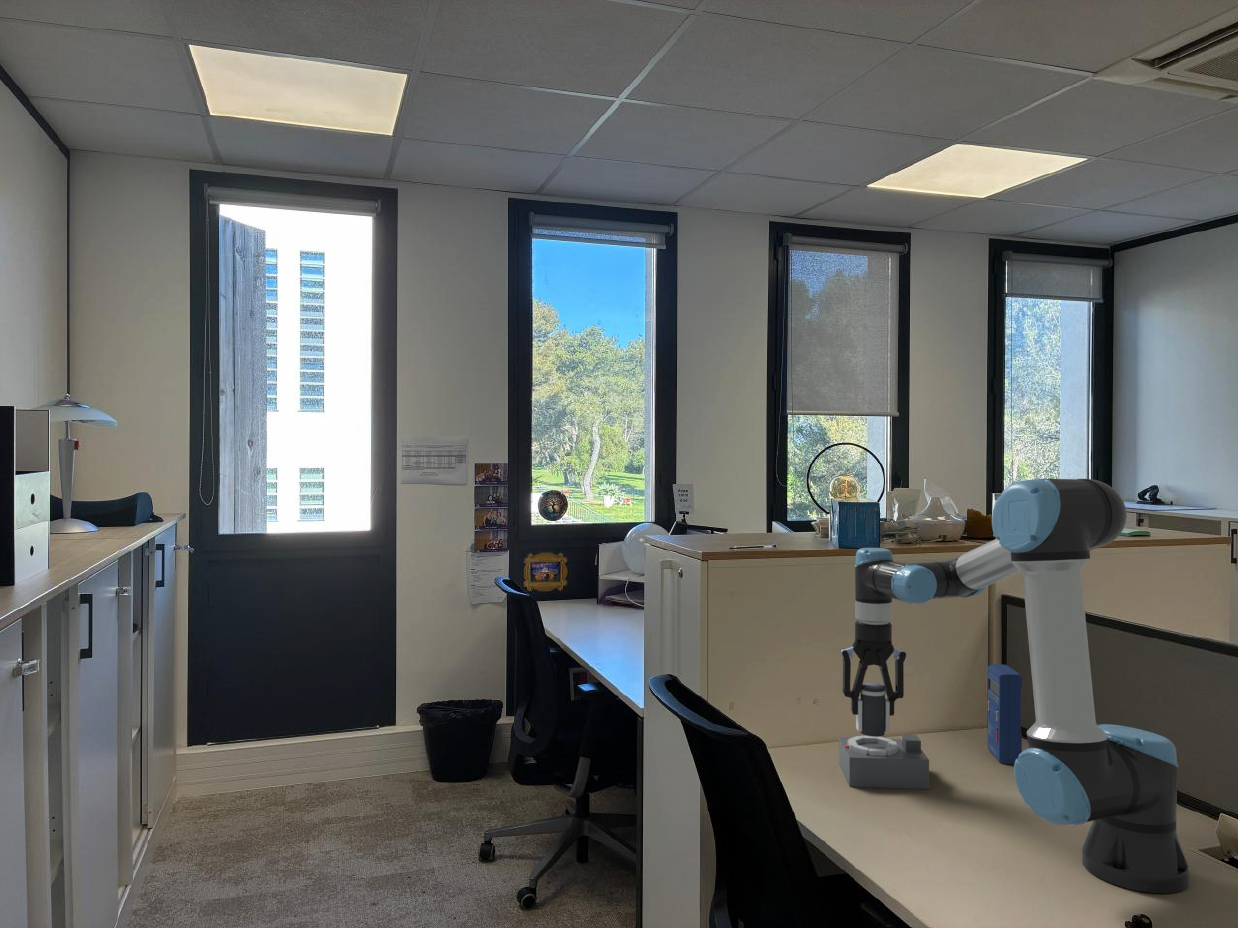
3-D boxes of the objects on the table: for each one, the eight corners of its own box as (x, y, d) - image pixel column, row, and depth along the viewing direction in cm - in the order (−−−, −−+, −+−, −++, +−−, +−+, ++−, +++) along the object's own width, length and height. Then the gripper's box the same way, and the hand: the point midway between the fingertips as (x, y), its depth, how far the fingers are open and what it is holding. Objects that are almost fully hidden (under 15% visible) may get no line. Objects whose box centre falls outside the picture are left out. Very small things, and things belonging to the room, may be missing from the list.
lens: (887, 737, 185) (888, 688, 185) (862, 736, 185) (862, 688, 185) (882, 729, 190) (882, 682, 190) (857, 728, 191) (858, 681, 190)
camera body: (929, 788, 180) (929, 747, 180) (849, 786, 182) (849, 745, 182) (913, 766, 193) (913, 728, 193) (839, 764, 195) (839, 726, 195)
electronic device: (985, 749, 204) (986, 663, 204) (1009, 750, 204) (1009, 664, 204) (998, 763, 195) (999, 673, 195) (1022, 764, 194) (1023, 674, 194)
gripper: (912, 618, 190) (911, 725, 191) (827, 616, 192) (827, 723, 192) (921, 625, 183) (920, 736, 183) (833, 623, 184) (832, 734, 185)
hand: (872, 729), depth 188 cm, fingers closed on lens, 5 cm apart
